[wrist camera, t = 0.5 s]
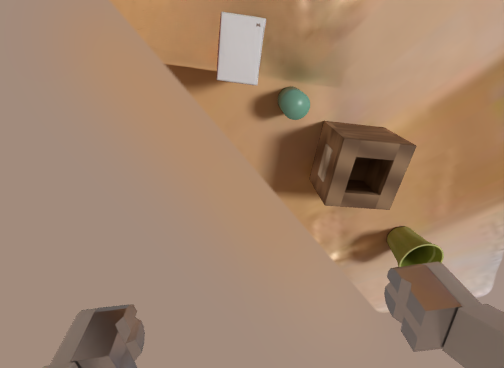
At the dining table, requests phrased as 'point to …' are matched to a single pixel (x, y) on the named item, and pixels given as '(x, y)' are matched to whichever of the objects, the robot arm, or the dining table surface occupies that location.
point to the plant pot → (412, 248)
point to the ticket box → (359, 165)
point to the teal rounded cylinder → (293, 103)
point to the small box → (240, 48)
